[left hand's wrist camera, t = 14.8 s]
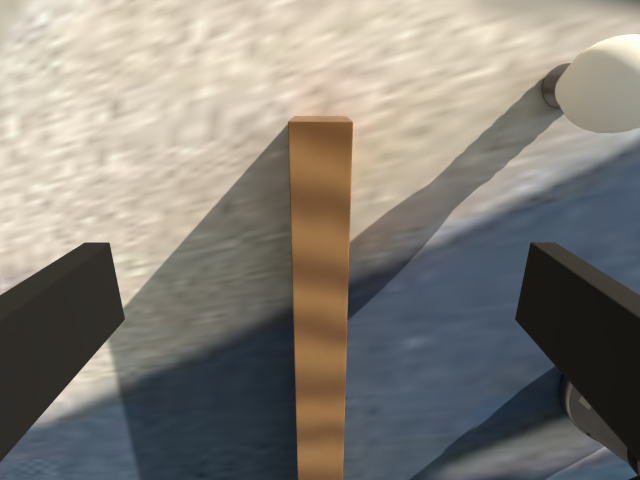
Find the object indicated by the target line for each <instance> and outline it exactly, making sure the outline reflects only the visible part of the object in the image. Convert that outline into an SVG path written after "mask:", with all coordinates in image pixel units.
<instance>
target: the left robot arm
mask: <svg viewBox="0 0 640 480" xmlns="http://www.w3.org/2000/svg"><path fill="white" fill-rule="evenodd" d="M124 320H125V318H124V313H123V308H122V303H121V298H120V293H119V288H118V283H117V278H116V273H115V268H114V263H113V258H112V253H111V248H110V243H83V244H82V245H80V246H79V247H77V248H75V249H74V250H72V251H71V252H69V253H67V254H66V255H64V256H63V257H61V258H59V259H58V260H56V261H55V262H53V263H51V264H50V265H48V266H47V267H45V268H43V269H42V270H40V271H39V272H37V273H35V274H34V275H32V276H31V277H29V278H27V279H26V280H24V281H23V282H21V283H19V284H18V285H16V286H15V287H13V288H11V289H10V290H8V291H7V292H5V293H3V294H2V295H0V462H1V461H2V459H3V458H4V457H5V456H6V455H7V454H8V453H9V451H10V450H11V449H12V448H13V447H14V446H15V445H16V443H17V442H18V441H19V440H20V439H21V438H22V437H23V435H24V434H25V433H26V432H27V431H28V430H29V429H30V427H31V426H32V425H33V424H34V423H35V422H36V420H37V419H38V418H39V417H40V416H41V415H42V414H43V412H44V411H45V410H46V409H47V408H48V407H49V406H50V404H51V403H52V402H53V401H54V400H55V399H56V398H57V396H58V395H59V394H60V393H61V392H62V391H63V390H64V388H65V387H66V386H67V385H68V384H69V383H70V382H71V380H72V379H73V378H74V377H75V376H76V375H77V374H78V372H79V371H80V370H81V369H82V368H83V367H84V366H85V364H86V363H87V362H88V361H89V360H90V359H91V358H92V356H93V355H94V354H95V353H96V352H97V351H98V350H99V348H100V347H101V346H102V345H103V344H104V343H105V341H106V340H107V339H108V338H109V337H110V336H111V335H112V333H113V332H114V331H115V330H116V329H117V328H118V327H119V325H120V324H121V323H122V322H123V321H124ZM515 320H516V321H517V322H518V323H519V324H520V325H521V327H522V328H523V329H524V330H525V331H526V332H527V333H528V335H529V336H530V337H531V338H532V339H533V340H534V341H535V343H536V344H537V345H538V346H539V347H540V348H541V350H542V351H543V352H544V353H545V354H546V355H547V356H548V358H549V359H550V360H551V361H552V362H553V363H554V364H555V366H556V367H557V368H558V369H559V370H560V371H561V372H562V374H563V377H562V380H561V384H560V401H561V404H562V407H563V409H564V411H565V412H566V414H567V415H568V416H569V417H570V419H571V420H572V421H573V423H574V424H575V425H576V426H577V427H578V429H579V430H581V431H582V432H583V433H585V434H586V435H588V436H589V437H591V438H592V439H594V440H596V441H598V442H600V443H601V444H603V445H604V446H605V447H607V448H608V449H609V450H610V451H612V452H613V453H614V454H616V455H617V456H618V457H620V458H621V459H622V460H624V461H625V462H627V463H628V464H629V465H630V466H631V468H632V469H633V470H634V471H635V472H636V474H637V475H638V476H636V477H634V478H631V479H629V480H640V295H638V294H637V293H635V292H633V291H632V290H630V289H629V288H627V287H625V286H624V285H622V284H621V283H619V282H617V281H616V280H614V279H613V278H611V277H609V276H608V275H606V274H605V273H603V272H601V271H600V270H598V269H597V268H595V267H593V266H592V265H590V264H589V263H587V262H585V261H584V260H582V259H581V258H579V257H577V256H576V255H574V254H573V253H571V252H569V251H568V250H566V249H565V248H563V247H561V246H560V245H558V244H557V243H530V248H529V253H528V258H527V263H526V268H525V273H524V278H523V283H522V288H521V293H520V298H519V303H518V308H517V313H516V318H515Z"/></svg>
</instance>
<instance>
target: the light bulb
mask: <svg viewBox="0 0 640 480" xmlns="http://www.w3.org/2000/svg"><path fill="white" fill-rule="evenodd" d="M542 92H543V96H544V98H545V100H546V101H547V102H548V104H550V105H551V106H552V107H554V108H557V109H561V110H562V111H563V113H564V114H565V116H566V117H567V118H568V119H569V120H570V121H571V122H572V123H574V124H575V125H577V126H579V127H581V128H582V129H585V130H589V131H593V132H596V133H619V132H625V131H630V130H633V129H636V128H639V127H640V35H637V34H633V35H623V36H616V37H613V38H610V39H607V40H604V41H601V42H599V43H597V44H595V45H593V46H592V47H590V48H588V49H587V50H585V51H583V52H582V53H581V54H580V55H579V56H577V57H576V58H575V59H574V60H573V62H572V63H567V64H562V65H559V66H558V67H556V68H555V69H553V70H552V71H551V72H550V73H549V74H548V75H547V76H546V78H545V80H544V82H543V86H542Z"/></svg>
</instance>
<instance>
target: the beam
mask: <svg viewBox="0 0 640 480" xmlns="http://www.w3.org/2000/svg"><path fill="white" fill-rule="evenodd" d="M352 136H353V122H352V121H351V120H350V119H349V118H348V117H346V116H295V117H293V118H292V119H291V120H290V121H289V122H288V137H289V173H290V210H291V247H292V284H293V320H294V357H295V394H296V430H297V467H298V480H343V451H344V416H345V381H346V346H347V311H348V276H349V241H350V206H351V171H352Z"/></svg>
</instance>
